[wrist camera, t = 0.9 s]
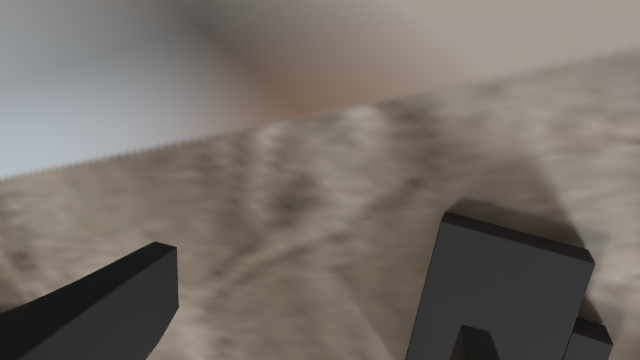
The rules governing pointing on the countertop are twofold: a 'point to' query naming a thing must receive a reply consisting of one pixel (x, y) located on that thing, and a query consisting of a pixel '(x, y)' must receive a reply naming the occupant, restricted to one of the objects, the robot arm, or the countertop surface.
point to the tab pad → (506, 295)
